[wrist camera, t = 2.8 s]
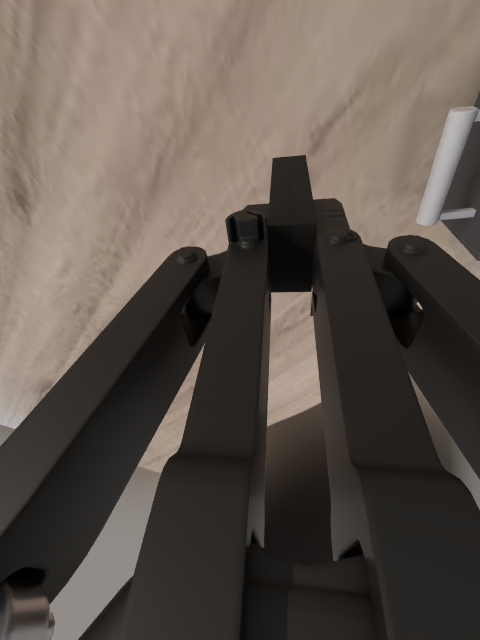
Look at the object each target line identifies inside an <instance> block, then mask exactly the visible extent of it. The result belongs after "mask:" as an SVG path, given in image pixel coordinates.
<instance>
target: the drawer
mask: <svg viewBox="0 0 480 640" xmlns="http://www.w3.org/2000/svg"><path fill="white" fill-rule="evenodd" d="M438 220H441V221H442V222H443V223H444V225H445V226H446V227H447V228H448V229H449V230H450V231H451V232H452V233H453V234H454V236H455V237H456V238H457V239H458V240H459V241H460V242H461V243H462V244H463V245H464V247H465V248H466V249H467V250H468V251H469V252H470V253H471V254H472V255H473V256H474V258H475V259H476V260H477V261H480V92H479V95H478V98H477V101H476V103H475V106H474V107H473V106H462V107H455V108H452V109H450V110H449V113H448V116H447V120H446V123H445V126H444V130H443V133H442V136H441V139H440V143H439V146H438V149H437V152H436V156H435V159H434V162H433V166H432V169H431V172H430V175H429V179H428V182H427V185H426V189H425V192H424V195H423V198H422V202H421V205H420V208H419V212H418V215H417V218H416V223H418V224H419V225H423V226H432V225H435V224H436V223H437V221H438Z"/></svg>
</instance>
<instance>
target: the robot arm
mask: <svg viewBox="0 0 480 640" xmlns="http://www.w3.org/2000/svg"><path fill="white" fill-rule="evenodd" d="M225 221H226V227H227V234H228V240H229V246H228V250H227V251H225V252H223V253H220V254H216V255H212V256H208V257H207V254H206V251H205V250H204V249H202V248H199V247H183V248H180V249H179V250H177V251H174V252H173V253H172V254H171V255H169V256H168V258H167V259H166V260H165V261H164V262H163V263H162V264H161V266H160V267H159V268H158V269H157V270H156V271H155V272H154V273H153V275H152V276H151V277H150V278H149V279H148V280H147V281H146V283H145V284H144V285H143V286H142V287H141V288H140V289H139V290H138V292H137V293H136V294H135V295H134V296H133V297H132V298H131V299H130V301H129V302H128V303H127V304H126V305H125V306H124V307H123V309H122V310H121V311H120V312H119V313H118V314H117V315H116V316H115V318H114V319H113V320H112V321H111V322H110V323H109V324H108V325H107V327H106V328H105V329H104V330H103V331H102V332H101V333H100V335H99V336H98V337H97V338H96V339H95V340H94V341H93V342H92V344H91V345H90V346H89V347H88V348H87V349H86V350H85V351H84V353H83V354H82V355H81V356H80V357H79V358H78V359H77V361H76V362H75V363H74V364H73V365H72V366H71V367H70V368H69V370H68V371H67V372H66V373H65V374H64V375H63V376H62V378H61V379H60V380H59V381H58V382H57V383H56V384H55V385H54V387H53V388H52V389H51V390H50V391H49V392H48V393H47V394H46V396H45V397H44V398H43V399H42V400H41V401H40V402H39V404H38V405H37V406H36V407H35V408H34V409H33V410H32V411H31V413H30V414H29V415H28V416H27V417H26V418H25V419H24V420H23V422H22V423H21V424H20V425H19V426H18V427H17V428H16V430H15V431H14V432H13V433H12V434H11V435H10V436H9V438H8V439H7V440H6V441H5V442H4V443H3V444H2V445H1V446H0V640H51V637H52V635H53V632H54V625H55V621H54V616H53V613H51V612H50V611H49V605H50V603H51V602H52V601H53V600H54V598H55V597H56V596H57V595H58V593H59V592H60V591H61V590H62V589H63V587H64V586H65V585H66V584H67V582H68V581H69V580H70V578H71V577H72V575H73V574H74V572H75V571H76V570H77V568H78V567H79V565H80V564H81V563H82V561H83V560H84V558H85V557H86V556H87V554H88V552H89V550H90V549H91V547H92V546H93V544H94V542H95V541H96V539H97V537H98V536H99V534H100V532H101V531H102V529H103V527H104V525H105V523H106V522H107V520H108V518H109V516H110V514H111V513H112V511H113V509H114V507H115V505H116V503H117V502H118V500H119V498H120V496H121V494H122V493H123V491H124V489H125V487H126V485H127V483H128V482H129V480H130V478H131V476H132V474H133V472H134V470H135V469H136V467H137V465H138V463H139V462H140V460H141V458H142V456H143V454H144V453H145V451H146V449H147V447H148V445H149V443H150V442H151V440H152V438H153V436H154V434H155V433H156V431H157V429H158V427H159V425H160V423H161V422H162V420H163V418H164V416H165V414H166V413H167V411H168V409H169V407H170V405H171V403H172V402H173V400H174V398H175V396H176V394H177V393H178V391H179V389H180V387H181V385H182V383H183V382H184V380H185V378H186V376H187V374H188V373H189V371H190V369H191V367H192V365H193V363H194V362H195V360H196V358H197V356H198V354H199V353H200V351H201V349H202V347H203V345H204V343H205V346H204V350H203V354H202V359H201V363H200V367H199V371H198V375H197V379H196V384H195V388H194V392H193V396H192V400H191V405H190V409H189V413H188V417H187V421H186V425H185V430H184V434H183V438H182V442H181V445H180V448H179V450H178V451H177V453H175V454H174V455H173V456H171V457H170V458H169V459H168V461H167V463H166V464H165V466H164V468H163V471H162V474H161V476H160V479H159V482H158V486H157V490H156V493H155V497H154V501H153V505H152V508H151V512H150V516H149V519H148V523H147V527H146V531H145V534H144V538H143V542H142V546H141V549H140V553H139V557H138V560H137V564H136V568H135V572H134V575H133V576H132V577H131V578H130V579H129V580H128V581H127V582H126V583H125V585H124V586H123V587H122V588H121V589H120V590H119V591H118V593H117V594H116V595H115V596H114V598H113V599H112V600H111V601H110V602H109V603H108V605H107V606H106V607H105V608H104V609H103V611H102V612H101V613H100V614H99V615H98V616H97V618H96V619H95V620H94V621H93V623H92V624H91V625H90V626H89V627H88V628H87V630H86V631H85V632H84V633H83V634H82V636H81V637H80V638H79V639H78V640H480V511H479V508H478V506H477V504H476V502H475V500H474V498H473V496H472V494H471V492H470V491H469V489H468V488H467V487H466V486H465V484H464V483H463V482H462V481H461V480H460V479H459V478H457V477H456V476H454V475H453V474H451V473H449V472H448V471H446V470H445V469H444V467H443V466H442V464H441V462H440V460H439V458H438V456H437V453H436V450H435V447H434V444H433V441H432V439H431V436H430V434H429V430H428V428H427V424H426V422H425V419H424V417H423V413H422V410H421V407H420V405H419V402H418V399H417V396H416V393H415V391H414V388H413V385H412V382H411V379H410V376H409V374H408V372H409V373H410V375H411V377H412V378H413V380H414V381H415V383H416V384H417V385H418V387H419V389H420V390H421V392H422V393H423V395H424V396H425V398H426V399H427V401H428V402H429V404H430V405H431V407H432V408H433V410H434V411H435V413H436V414H437V416H438V417H439V419H440V420H441V422H442V423H443V425H444V426H445V428H446V429H447V431H448V432H449V434H450V435H451V437H452V438H453V440H454V441H455V443H456V444H457V446H458V447H459V449H460V450H461V452H462V453H463V455H464V456H465V458H466V459H467V461H468V463H469V464H470V465H471V467H472V468H473V470H474V472H475V473H476V474H477V476H478V478H479V479H480V280H479V279H478V278H476V277H475V276H474V275H473V274H472V273H470V272H469V271H468V270H467V269H466V268H464V267H463V266H462V265H461V264H459V263H458V262H457V261H456V260H455V259H453V258H452V257H451V256H450V255H449V254H447V253H446V252H445V251H444V250H443V249H441V248H440V247H439V246H438V245H436V244H435V243H434V242H432V241H430V240H429V239H426V238H422V237H420V236H414V235H408V236H399V237H396V238H393V239H392V240H391V241H389V243H388V247H387V249H386V248H379V247H372V246H367V245H364V244H363V243H362V240H361V238H360V236H359V235H358V233H356V232H354V231H352V230H350V228H349V225H348V222H347V218H346V216H345V212H344V209H343V206H342V203H340V202H339V201H338V200H336V199H335V198H332V199H317V200H313V197H312V191H311V185H310V179H309V173H308V167H307V161H306V155H301V156H290V157H279V158H273V162H272V175H271V188H270V202H269V204H256V205H247V206H246V207H245V208H244V209H243V210H242V211H238V212H235V213H233V214H231V215H230V216H228V217H227V219H226V220H225ZM312 288H313V291H312V303H311V315H310V316H313V319H314V329H315V339H316V350H317V360H318V370H319V380H320V391H321V401H322V410H323V421H324V431H325V441H326V452H327V461H328V472H329V483H330V492H331V536H332V548H333V559H334V561H333V562H328V563H323V564H319V565H315V566H302V565H299V564H297V563H295V562H293V561H290V560H288V559H286V558H284V557H282V556H280V555H277V554H275V553H273V552H271V551H269V550H266V549H264V483H265V482H264V481H265V458H266V457H265V456H266V431H267V404H268V377H269V351H270V324H271V292H311V290H312ZM417 302H419V303H420V305H421V307H422V309H423V310H422V309H420V308H419V306H418V305H417Z"/></svg>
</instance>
